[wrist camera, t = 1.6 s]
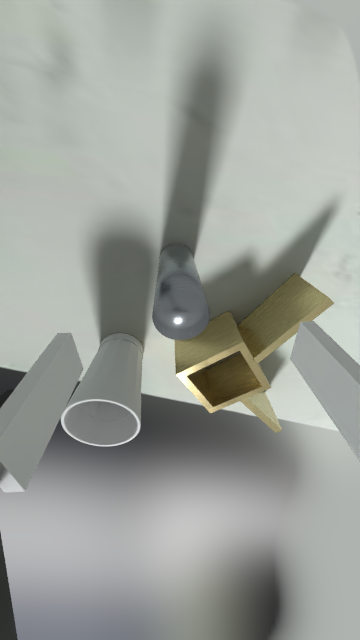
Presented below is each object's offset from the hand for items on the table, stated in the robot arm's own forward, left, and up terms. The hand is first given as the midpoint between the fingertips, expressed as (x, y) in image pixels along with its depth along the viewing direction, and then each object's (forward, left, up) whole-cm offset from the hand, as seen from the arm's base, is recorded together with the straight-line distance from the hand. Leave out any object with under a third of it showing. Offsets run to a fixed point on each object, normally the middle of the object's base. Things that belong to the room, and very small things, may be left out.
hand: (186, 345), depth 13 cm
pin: (0, 0, -16) cm, 16 cm away
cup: (+7, -14, -16) cm, 22 cm away
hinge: (+18, +3, -16) cm, 25 cm away
